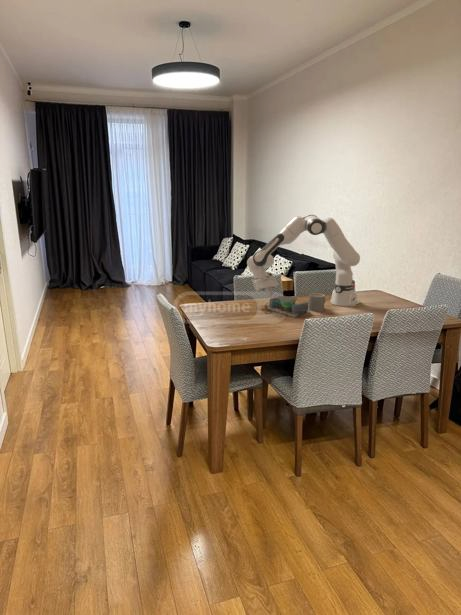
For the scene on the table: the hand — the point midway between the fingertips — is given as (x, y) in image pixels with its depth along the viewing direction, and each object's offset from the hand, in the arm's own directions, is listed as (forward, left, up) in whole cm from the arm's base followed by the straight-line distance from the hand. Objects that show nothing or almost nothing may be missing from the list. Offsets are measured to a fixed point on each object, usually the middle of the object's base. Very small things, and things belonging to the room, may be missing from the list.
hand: (271, 294), depth 297 cm
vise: (0, +15, -8) cm, 17 cm away
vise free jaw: (0, +6, -7) cm, 9 cm away
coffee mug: (-19, +25, -9) cm, 33 cm away
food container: (+1, +16, -9) cm, 18 cm away
